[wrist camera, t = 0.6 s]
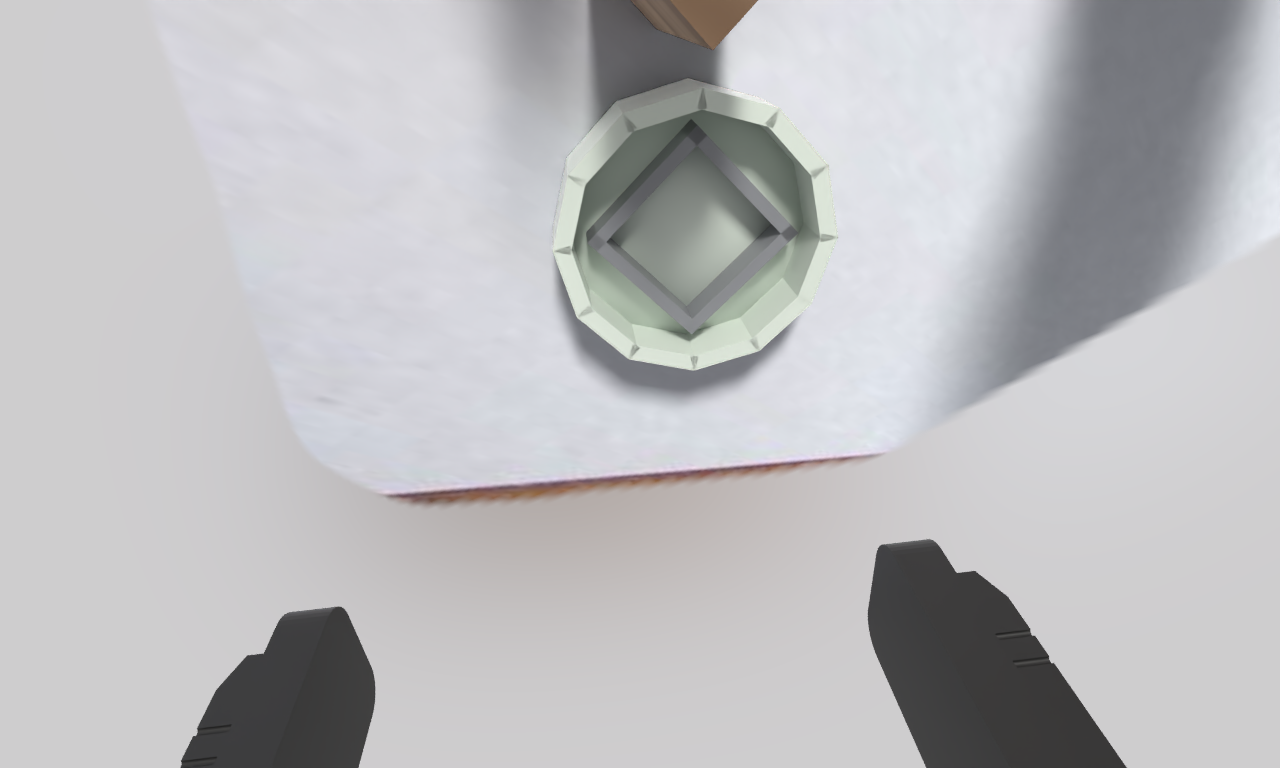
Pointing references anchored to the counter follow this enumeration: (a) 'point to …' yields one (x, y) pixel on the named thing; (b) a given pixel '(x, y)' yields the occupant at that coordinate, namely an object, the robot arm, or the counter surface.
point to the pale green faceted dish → (693, 225)
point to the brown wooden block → (695, 18)
